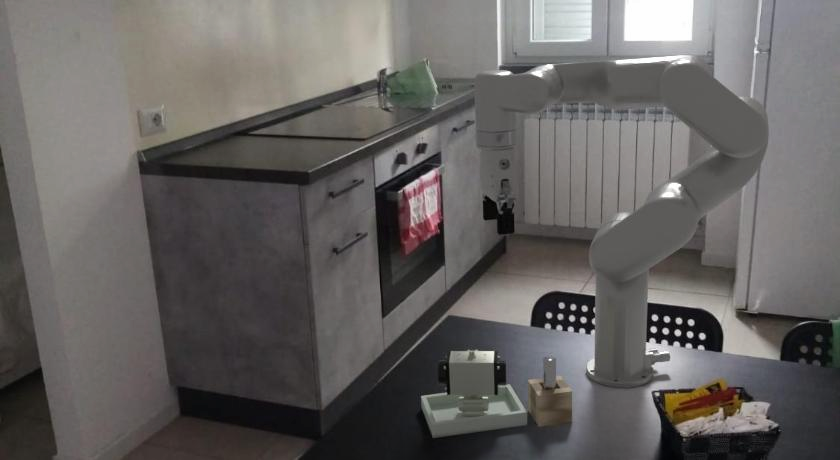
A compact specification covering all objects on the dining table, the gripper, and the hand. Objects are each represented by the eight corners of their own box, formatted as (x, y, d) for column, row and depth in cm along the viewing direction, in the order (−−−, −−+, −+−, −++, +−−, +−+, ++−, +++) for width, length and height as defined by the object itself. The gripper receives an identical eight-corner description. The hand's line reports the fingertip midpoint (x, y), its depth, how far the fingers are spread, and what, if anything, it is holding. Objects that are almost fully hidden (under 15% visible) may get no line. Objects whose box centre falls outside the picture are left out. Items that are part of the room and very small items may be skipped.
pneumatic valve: (506, 419, 150) (505, 356, 147) (439, 419, 152) (436, 356, 148) (507, 404, 156) (505, 343, 152) (442, 403, 157) (439, 343, 153)
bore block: (560, 405, 155) (560, 375, 153) (572, 422, 150) (572, 391, 148) (528, 410, 154) (527, 379, 153) (538, 427, 149) (538, 395, 147)
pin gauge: (553, 412, 153) (553, 355, 150) (557, 418, 151) (557, 361, 148) (541, 414, 153) (541, 357, 150) (545, 420, 151) (545, 362, 147)
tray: (510, 396, 160) (509, 384, 159) (527, 424, 150) (526, 412, 149) (421, 408, 157) (420, 395, 156) (433, 438, 147) (432, 425, 146)
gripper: (530, 145, 153) (531, 237, 158) (502, 128, 169) (504, 212, 174) (489, 149, 152) (492, 241, 157) (465, 131, 168) (468, 216, 173)
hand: (498, 226), depth 165 cm, fingers open, 9 cm apart
